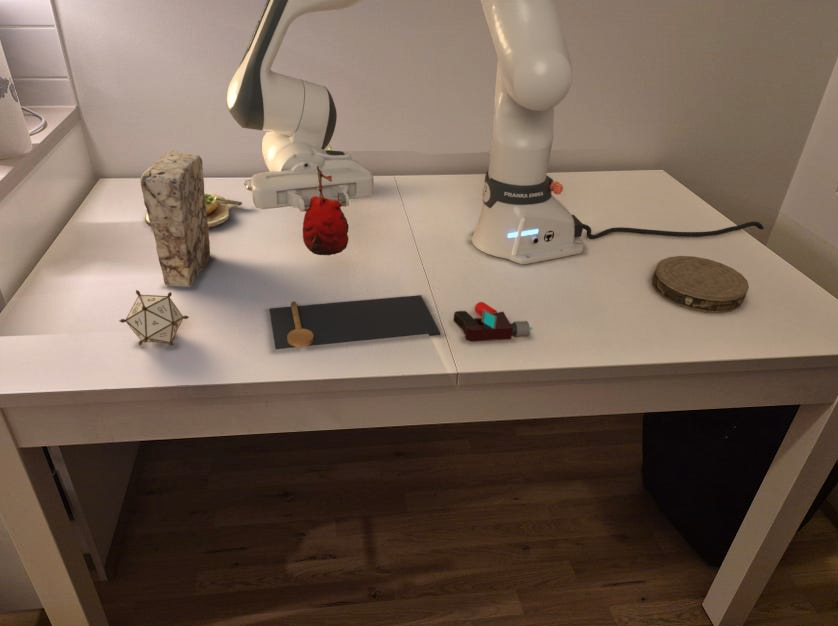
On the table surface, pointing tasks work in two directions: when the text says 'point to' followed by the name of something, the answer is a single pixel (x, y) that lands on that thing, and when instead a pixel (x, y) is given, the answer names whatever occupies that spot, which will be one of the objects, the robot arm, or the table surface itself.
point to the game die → (154, 318)
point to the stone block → (178, 216)
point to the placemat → (356, 320)
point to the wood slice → (700, 284)
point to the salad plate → (214, 209)
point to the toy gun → (489, 325)
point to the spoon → (299, 331)
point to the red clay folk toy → (325, 224)
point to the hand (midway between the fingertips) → (325, 204)
